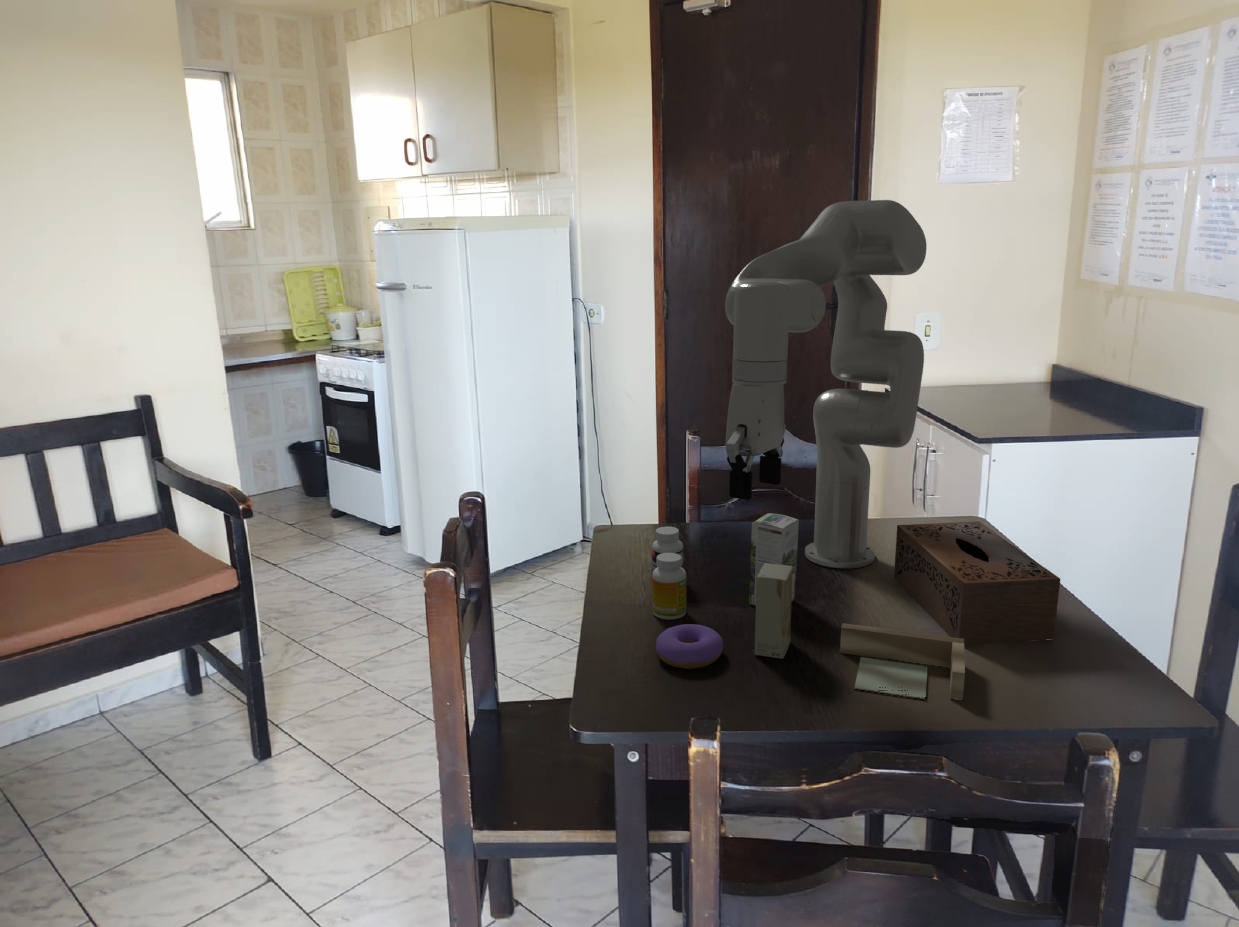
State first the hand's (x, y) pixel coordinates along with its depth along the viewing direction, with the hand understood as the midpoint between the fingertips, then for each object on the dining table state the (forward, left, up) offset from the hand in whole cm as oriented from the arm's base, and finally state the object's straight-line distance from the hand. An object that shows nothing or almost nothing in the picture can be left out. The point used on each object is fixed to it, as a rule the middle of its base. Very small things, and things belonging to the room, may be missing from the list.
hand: (755, 490), depth 126 cm
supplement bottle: (-5, -14, -24) cm, 28 cm away
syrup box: (-14, +1, -24) cm, 27 cm away
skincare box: (+2, +4, -24) cm, 24 cm away
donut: (+8, -7, -24) cm, 26 cm away
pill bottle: (-17, -18, -24) cm, 34 cm away
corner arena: (+5, +21, -23) cm, 32 cm away
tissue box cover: (-22, +31, -24) cm, 44 cm away
